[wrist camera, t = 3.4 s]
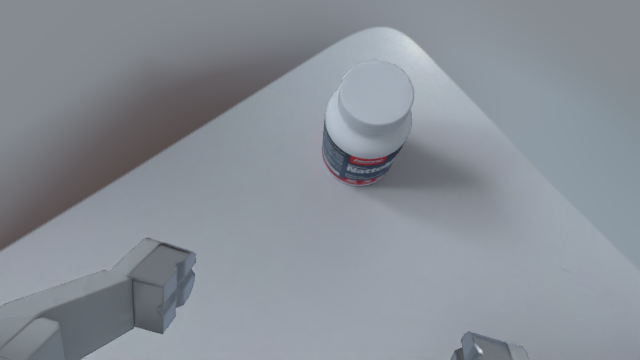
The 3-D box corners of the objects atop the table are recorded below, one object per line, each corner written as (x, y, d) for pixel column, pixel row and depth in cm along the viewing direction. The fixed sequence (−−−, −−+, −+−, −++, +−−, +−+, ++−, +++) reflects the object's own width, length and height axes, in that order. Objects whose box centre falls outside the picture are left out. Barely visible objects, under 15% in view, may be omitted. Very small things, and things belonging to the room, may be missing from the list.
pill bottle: (339, 198, 27) (351, 152, 18) (311, 138, 28) (309, 69, 20) (404, 171, 27) (444, 114, 19) (373, 113, 29) (397, 36, 20)
